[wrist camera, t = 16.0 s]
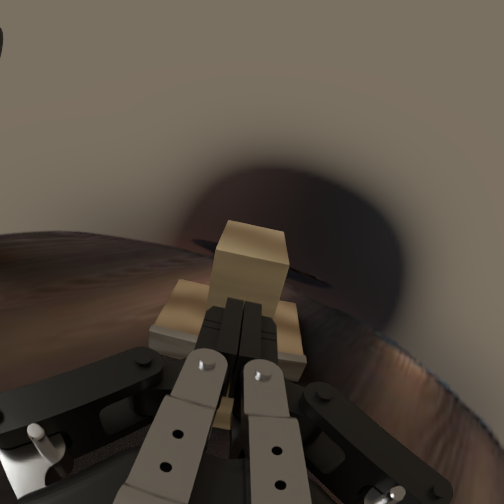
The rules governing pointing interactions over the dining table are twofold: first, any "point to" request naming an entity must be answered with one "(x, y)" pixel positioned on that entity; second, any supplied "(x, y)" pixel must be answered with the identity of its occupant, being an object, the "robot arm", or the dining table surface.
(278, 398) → the robot arm
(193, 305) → the floorboard
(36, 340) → the dining table surface
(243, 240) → the pale wooden block
